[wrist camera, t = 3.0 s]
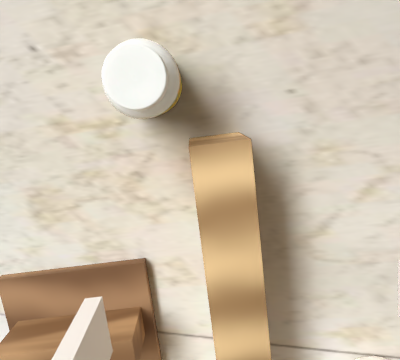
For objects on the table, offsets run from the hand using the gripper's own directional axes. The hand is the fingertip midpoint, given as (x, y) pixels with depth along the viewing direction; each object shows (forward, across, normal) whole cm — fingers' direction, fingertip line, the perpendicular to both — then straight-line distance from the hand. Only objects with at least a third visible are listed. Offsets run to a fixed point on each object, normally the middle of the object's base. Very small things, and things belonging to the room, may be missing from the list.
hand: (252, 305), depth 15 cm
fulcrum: (+18, -15, -11) cm, 26 cm away
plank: (+18, 0, -7) cm, 19 cm away
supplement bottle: (+18, -5, +11) cm, 22 cm away
